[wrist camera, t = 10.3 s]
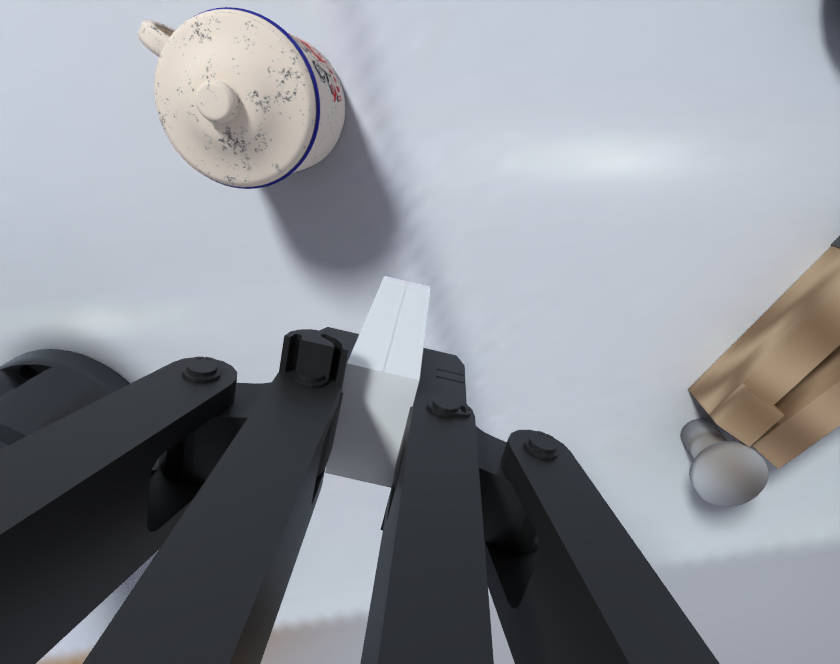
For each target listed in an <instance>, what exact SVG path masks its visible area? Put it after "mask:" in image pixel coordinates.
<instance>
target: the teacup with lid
mask: <svg viewBox="0 0 840 664" xmlns="http://www.w3.org/2000/svg"><path fill="white" fill-rule="evenodd" d="M138 36H139V39H140V40H141V42H142V43H143V44H144V45H145V46H146V47H147V48H148V49H149V50H150V51H152V52H153V53H154V54H156V55H157V56H159V60H158V64H157V68H156V74H155V86H154V87H155V100H156V106H157V111H158V115H159V118H160V121H161V124H162V126H163V129H164V131H165V133H166V135H167V137H168V138H169V140H170V142H171V144H172V145H173V146H174V148H175V149H176V151H177V152H178V153H179V154H180V155H181V157H182V158H183V159H184V160H185V161H186V162H187V163H188V164H189V165H191V166H192V167H193V168H194V169H196V170H197V171H198V172H200V173H201V174H203V175H204V176H206V177H208V178H209V179H211V180H214V181H216V182H218V183H221V184H223V185H226V186H230V187H235V188H244V189H252V188H261V187H265V186H269V185H272V184H275V183H277V182H279V181H281V180H283V179H285V178H286V177H288V176H289V175H290V174H292V173H294V172H297V171H300V170H303V169H306V168H309V167H311V166H313V165H315V164H317V163H318V162H320V161H321V160H323V159H324V158H325V157H326V156H327V155H328V154H329V153H330V152H331V150H332V149H333V148H334V146H335V145H336V143H337V141H338V139H339V137H340V135H341V132H342V129H343V125H344V120H345V99H344V93H343V89H342V86H341V83H340V80H339V78H338V76H337V74H336V72H335V70H334V68H333V67H332V65H331V64H330V63H329V61H328V60H327V59H326V58H325V57H324V55H323V54H322V53H320V52H319V51H318V50H317V49H316V48H315V47H313V46H312V45H310V44H309V43H307V42H305V41H303V40H301V39H299V38H297V37H295V36H293V35H291V34H288V33H287V32H286V31H285V30H284V29H282V28H281V27H280V26H279V25H277V24H276V23H274V22H273V21H271V20H270V19H268V18H266V17H264V16H262V15H260V14H258V13H255V12H252V11H249V10H245V9H240V8H228V7H225V8H216V9H211V10H207V11H204V12H201V13H199V14H197V15H195V16H193V17H192V18H190V19H189V20H187V21H185V22H184V23H183V24H182V25H181V26H179V27H178V28H177V29H176V30H174V29H172V28H170V27H168V26H166V25H163V24H161V23H158V22H156V21H152V20H145V21H143V22H142V24H141V26H140V29H139V32H138Z"/></svg>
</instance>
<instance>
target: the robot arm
mask: <svg viewBox="0 0 840 664" xmlns="http://www.w3.org/2000/svg"><path fill="white" fill-rule="evenodd" d="M430 288H431V287H429V286H425V285H421V284H417V283H412V282H408V281H404V280H400V279H396V278H391V277H387V276H384V278H383V280H382V282H381V285H380V287H379V289H378V292H377V294H376V296H375V299H374V301H373V303H372V306H371V308H370V311H369V313H368V315H367V318H366V320H365V322H364V325H363V327H362V329H361V332H360V334H356V333H351V332H347V331H343V330H338V329H334V328H330V327H326V328H324V329H322V330H320V331H318V330H312V329H309V330H296V331H291V332H289V333H288V334H286V335H285V336H284V342H283V349H282V355H281V362H280V369H279V373H278V374H277V376H276V377H275V379H274V380H273V381H272V382H271V383H263V384H251V383H236V382H237V371H236V370H235V369H234V368H233V367H232V366H231V365H229V364H227V363H225V362H223V361H220V360H216V359H213V358H209V357H205V358H204V357H195V358H185V359H181V360H178V361H175V362H173V363H171V364H169V365H167V366H165V367H163V368H161V369H159V370H157V371H155V372H153V373H151V374H149V375H147V376H145V377H143V378H141V379H139V380H137V381H135V382H133V383H131V384H129V383H128V382H126V381H125V380H124V379H123V378H122V377H121V376H120V375H118V374H117V373H116V372H114V371H113V370H112V369H110V368H108V367H107V366H105V365H104V364H102V363H100V362H98V361H96V360H94V359H92V358H89V357H87V356H84V355H81V354H78V353H74V352H70V351H64V350H53V349H48V350H37V351H32V352H29V353H26V354H23V355H21V356H19V357H17V358H15V359H13V360H11V361H9V362H7V363H6V364H4V365H2V366H0V664H36V663H37V662H38V661H39V660H40V659H41V658H42V657H43V656H44V655H45V654H46V653H48V652H49V651H50V650H51V649H52V648H53V647H54V646H55V645H56V644H57V643H58V642H59V641H60V640H62V639H63V638H64V637H65V636H66V635H67V634H68V633H69V632H70V631H71V630H72V629H73V628H75V627H76V626H77V625H78V624H79V623H80V622H81V621H82V620H83V619H84V618H85V617H86V616H87V615H89V614H90V613H91V612H92V611H93V610H94V609H95V608H96V607H97V606H98V605H99V604H100V603H102V602H103V601H104V600H105V599H106V598H107V597H108V596H109V595H110V594H111V593H112V592H113V591H114V590H116V589H117V588H118V587H119V586H120V585H121V584H122V583H123V582H124V581H125V580H126V579H127V578H128V577H130V576H131V575H132V574H133V573H134V572H135V571H136V570H137V569H138V568H139V567H140V566H141V565H143V564H144V563H145V562H146V561H147V560H148V559H149V558H150V557H151V556H152V555H153V554H154V553H155V552H157V551H158V550H159V551H158V552H157V554H156V555H155V557H154V558H153V560H152V561H151V563H150V564H149V566H148V567H147V569H146V570H145V572H144V573H143V575H142V576H141V578H140V579H139V581H138V582H137V584H136V585H135V587H134V588H133V590H132V591H131V593H130V594H129V596H128V597H127V598H126V600H125V601H124V603H123V604H122V606H121V607H120V609H119V610H118V612H117V613H116V615H115V616H114V618H113V619H112V621H111V622H110V624H109V625H108V627H107V628H106V630H105V631H104V633H103V634H102V636H101V637H100V639H99V640H98V642H97V643H96V645H95V646H94V648H93V649H92V651H91V652H90V653H89V655H88V656H87V658H86V659H85V661H84V662H83V664H260V663H261V660H262V657H263V654H264V651H265V648H266V645H267V643H268V640H269V637H270V634H271V631H272V628H273V625H274V623H275V620H276V617H277V614H278V611H279V608H280V605H281V602H282V599H283V597H284V594H285V591H286V588H287V585H288V582H289V579H290V576H291V574H292V571H293V568H294V565H295V562H296V559H297V556H298V553H299V550H300V548H301V545H302V542H303V539H304V536H305V533H306V530H307V527H308V525H309V522H310V519H311V516H312V513H313V510H314V507H315V504H316V501H317V499H318V496H319V493H320V490H321V487H322V482H323V477H324V472H325V467H326V472H325V473H329V474H333V475H338V476H342V477H347V478H351V479H355V480H360V481H364V482H369V483H373V484H378V485H382V486H387V487H391V492H390V495H389V499H388V503H387V507H386V511H385V515H384V519H383V523H382V526H381V530H383V534H382V539H381V545H380V551H379V557H378V563H377V569H376V575H375V581H374V587H373V593H372V599H371V605H370V611H369V616H368V622H367V628H366V635H365V640H364V646H363V653H362V658H361V664H494V662H493V649H492V636H491V624H490V623H491V622H490V610H489V596H488V588H489V591H490V594H491V596H492V599H493V602H494V605H495V608H496V611H497V613H498V616H499V619H500V622H501V625H502V628H503V631H504V634H505V637H506V639H507V642H508V645H509V648H510V651H511V654H512V656H513V659H514V662H515V664H719V662H718V661H717V659H716V658H715V657H714V655H713V654H712V652H711V651H710V650H709V648H708V647H707V645H706V644H705V643H704V641H703V640H702V638H701V637H700V635H699V634H698V632H697V631H696V629H695V628H694V627H693V625H692V624H691V622H690V621H689V620H688V618H687V617H686V615H685V614H684V612H683V611H682V610H681V608H680V607H679V605H678V604H677V602H676V601H675V600H674V598H673V597H672V595H671V594H670V592H669V591H668V590H667V588H666V587H665V585H664V584H663V583H662V581H661V580H660V578H659V577H658V575H657V574H656V573H655V571H654V570H653V568H652V567H651V565H650V564H649V563H648V561H647V560H646V558H645V557H644V555H643V554H642V553H641V551H640V550H639V548H638V547H637V546H636V544H635V543H634V541H633V540H632V538H631V537H630V536H629V534H628V533H627V531H626V530H625V528H624V527H623V526H622V524H621V523H620V521H619V520H618V518H617V517H616V516H615V514H614V513H613V511H612V510H611V509H610V507H609V506H608V504H607V503H606V501H605V500H604V499H603V497H602V496H601V494H600V493H599V491H598V490H597V489H596V487H595V486H594V484H593V483H592V481H591V480H590V479H589V477H588V476H587V474H586V473H585V472H584V470H583V469H582V467H581V466H580V464H579V463H578V462H577V460H576V459H575V457H574V456H573V454H572V453H571V452H570V451H569V449H568V448H567V447H566V446H565V445H564V444H563V443H561V442H559V441H558V440H556V439H555V438H554V437H552V436H550V435H548V434H545V433H543V432H540V431H532V430H517V431H515V432H513V433H511V435H510V437H509V438H508V441H507V442H504V441H502V440H500V439H497V438H495V437H493V436H491V435H489V434H487V433H485V432H483V431H482V430H480V429H479V428H477V427H476V424H475V415H474V413H473V411H472V409H471V408H470V407H469V406H468V405H467V404H466V385H465V367H464V364H463V363H462V362H461V361H460V359H459V358H458V357H457V356H456V355H452V354H447V353H443V352H439V351H435V350H430V349H426V348H423V346H424V338H425V330H426V321H427V313H428V305H429V296H430ZM326 465H327V466H326Z"/></svg>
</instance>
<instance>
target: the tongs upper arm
mask: <svg viewBox="0 0 840 664" xmlns="http://www.w3.org/2000/svg"><path fill="white" fill-rule="evenodd" d="M831 245H832V246H831V247H830V248H829V249H828V250H827V251H826V252H825V253H824V254H823V255H822V256H821V257H820V258H819V259H818V260H817V261H816V262H815V263H814V264H813V265H812V266H811V267H810V268H809V269H808V270H807V271H806V272H805V273H804V274H803V275H802V276H801V277H800V278H799V279H798V280H797V281H796V282H795V283H794V284H793V285H792V286H791V287H790V288H789V289H788V290H787V291H786V292H785V293H784V294H783V295H782V296H781V297H780V298H779V299H778V300H777V301H776V302H775V303H774V304H773V305H772V306H771V307H770V308H769V309H768V310H767V311H766V312H765V313H764V314H763V315H762V316H761V317H760V318H759V319H758V320H757V321H756V322H755V323H754V324H753V325H752V326H751V327H750V328H749V329H748V330H747V331H746V332H745V333H744V334H743V335H742V336H741V337H740V338H739V339H738V340H737V341H736V342H735V343H734V344H733V345H732V346H731V347H730V348H729V349H728V350H727V351H726V352H725V353H724V354H723V355H722V356H721V357H720V358H719V359H718V360H717V361H716V362H715V363H714V364H713V365H712V366H711V367H710V368H709V369H708V370H707V371H706V372H705V373H704V374H703V375H702V376H701V377H700V378H699V379H698V380H697V381H696V382H695V383H694V384H693V385H692V386H691V387H690V388H689V389H688V390H689V391H690V392H691V394H692V395H693V396H694V397H695V398H696V400H697V401H698V402H699V403H700V404H701V406H702V407H703V408H704V409H705V411H706V412H707V413H708V414H709V415H710V417H711V418H712V419H713V420H714V421H715V423H716V424H717V425H718V426H719V427H721V428H722V429H724V430H725V431H727V432H728V433H730V434H731V435H733V436H734V437H735V438H737V439H738V440H740V441H741V442H738V441H723V442H718V443H715V444H712V445H710V446H708V447H706V448H705V449H703V450H702V451H701V452H700V453H699V454H698V455H697V456H696V457H695V458H694V460H693V462H692V464H691V466H690V473H689V475H690V480H691V482H692V484H693V486H694V488H695V489H696V491H697V493H698V494H699V495H700V497H701V498H702V499H704V500H705V501H706V502H708V503H710V504H713V505H716V506H722V507H731V506H737V505H741V504H743V503H746V502H748V501H750V500H752V499H753V498H755V497H756V496H757V495H758V494H759V493H760V492H761V491H762V490H763V489H764V487H765V485H766V483H767V480H768V475H769V472H768V467H767V464H766V462H765V461H764V460H763V458H762V457H761V456H760V455H759V454H758V453H757V452H756V450H755V449H754V448H752V447H751V445H752V444H753V443H754V442H755V441H757V440H758V439H759V438H760V437H761V436H762V435H763V434H764V433H765V432H767V431H768V430H769V429H770V428H771V427H772V426H773V425H774V424H775V423H777V422H778V421H779V420H780V419H781V418H782V417H783V416H784V414H783V413H782V412H781V411H780V410H779V409H778V408H777V407H776V406H775V404H776V403H777V402H778V401H779V400H780V399H781V398H782V397H783V396H784V395H786V394H787V393H788V392H789V391H790V390H791V389H792V388H793V387H794V386H795V385H797V384H798V383H799V382H800V381H801V380H802V379H803V378H804V377H805V376H806V375H807V374H809V373H810V372H811V371H812V370H813V369H814V368H815V367H816V366H817V365H818V364H819V363H821V362H822V361H823V360H824V359H825V358H826V357H827V356H828V355H829V354H830V353H831V352H833V351H834V350H835V349H836V348H837V347H838V346H839V345H840V236H839V237H838V238H837V239H836V240H835V241H834V242H833V243H832V244H831ZM742 442H743V443H742Z"/></svg>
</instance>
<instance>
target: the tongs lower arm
mask: <svg viewBox="0 0 840 664" xmlns="http://www.w3.org/2000/svg"><path fill="white" fill-rule="evenodd" d="M775 406H776V407H777V408H778V409H779V410H780V411H781V412H782V413H783V414H784V416H783V417H782V418H781V419H780V420H779V421H778V422H777V423H775V424H774V425H773V426H772V427H771V428H770V429H769V430H768V431H767V432H765V433H764V434H763V435H762V436H761V437H760V438H759V439H758V440H757V441H755V442H754V443H753V444H752V446H753V447H754V448H755V449H756V450H758V451H759V452H760V453H761V454H762V455H763V456H764V457H765V458H766V459H768V460H769V461H770V462H771V463H772V464H773V465H774V466H775V467H776V468H778V469H779V468H781V467H782V466H783V465H785V464H786V463H788V462H789V461H791V460H792V459H793V458H795V457H796V456H798V455H799V454H800V453H802V452H803V451H805V450H806V449H807V448H809V447H810V446H812V445H813V444H814V443H816V442H817V441H819V440H820V439H821V438H823V437H824V436H826V435H827V434H829V433H830V432H831V431H833V430H834V429H836V428H837V427H838V426H840V345H839V346H838V347H837V348H836V349H835V350H834V351H833V352H831V353H830V354H829V355H828V356H827V357H826V358H825V359H824V360H823V361H822V362H821V363H819V364H818V365H817V366H816V367H815V368H814V369H813V370H812V371H811V372H810V373H809V374H807V375H806V376H805V377H804V378H803V379H802V380H801V381H800V382H799V383H798V384H797V385H795V386H794V387H793V388H792V389H791V390H790V391H789V392H788V393H787V394H786V395H784V396H783V397H782V398H781V399H780V400H779V401H778V402H777V403H776V404H775ZM680 437H681V440H682V442H683V444H684V445H685V447H686V448H687V450H688V451H689V453H690V454H691V456H692V457H693V459H694V458H695V457H696V456H697V455H698V454H699V453H700V452H701V451H702V450H703V449H705V448H706V447H708V446H710V445H712V444H715V443H718V442H723V441H727V440H726V439H725V438H724V436H723V435H722V434H721V433H720V431H719V430H718V429H717V428H716V426H715V425H714V424H713V423H712V422H711V421H709V420H706V419H696V420H692V421H690V422H689V423H687V424H686V425H685V426H684V427H683V429H682V430H681V434H680Z"/></svg>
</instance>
